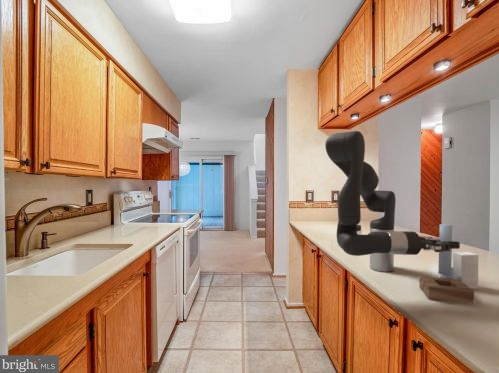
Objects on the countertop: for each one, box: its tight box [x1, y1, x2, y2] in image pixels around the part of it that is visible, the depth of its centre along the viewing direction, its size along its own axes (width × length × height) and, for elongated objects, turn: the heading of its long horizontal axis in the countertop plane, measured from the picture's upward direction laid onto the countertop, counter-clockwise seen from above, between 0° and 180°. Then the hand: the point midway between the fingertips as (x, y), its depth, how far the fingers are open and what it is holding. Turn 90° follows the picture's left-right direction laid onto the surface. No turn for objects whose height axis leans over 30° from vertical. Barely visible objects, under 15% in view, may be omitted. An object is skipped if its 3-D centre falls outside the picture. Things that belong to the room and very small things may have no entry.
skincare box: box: [452, 251, 479, 290], centre depth 96 cm, size 6×4×12 cm
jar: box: [357, 224, 363, 235], centre depth 153 cm, size 9×8×12 cm
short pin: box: [441, 266, 454, 279], centre depth 96 cm, size 3×3×7 cm
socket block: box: [418, 275, 475, 305], centre depth 90 cm, size 10×12×4 cm
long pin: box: [438, 223, 453, 276], centre depth 89 cm, size 3×3×16 cm
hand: (454, 243), depth 89 cm, fingers closed on long pin, 3 cm apart
